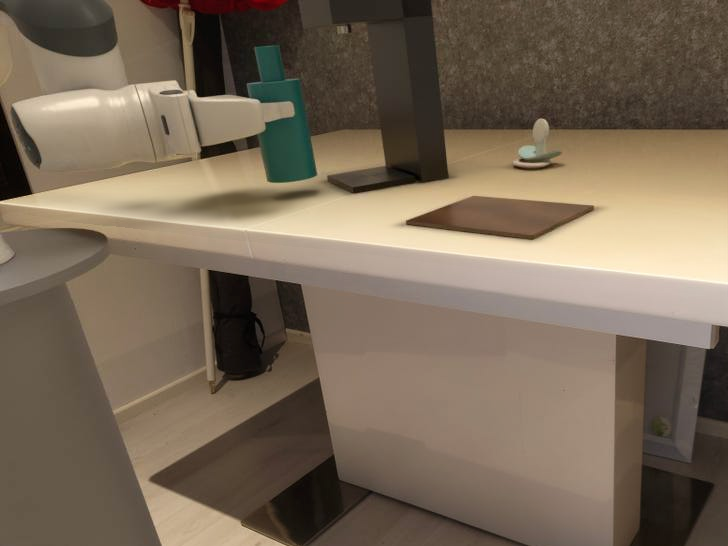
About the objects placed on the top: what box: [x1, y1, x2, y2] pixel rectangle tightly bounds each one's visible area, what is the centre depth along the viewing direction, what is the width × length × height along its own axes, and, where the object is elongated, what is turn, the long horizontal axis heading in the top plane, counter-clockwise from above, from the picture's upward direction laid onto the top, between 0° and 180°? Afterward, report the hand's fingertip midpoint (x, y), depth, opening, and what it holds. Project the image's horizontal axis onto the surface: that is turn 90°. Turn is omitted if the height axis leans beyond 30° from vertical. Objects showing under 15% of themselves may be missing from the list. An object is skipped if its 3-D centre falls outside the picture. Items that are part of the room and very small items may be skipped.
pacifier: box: [512, 117, 563, 169], centre depth 95 cm, size 7×6×6 cm
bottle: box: [246, 44, 318, 184], centre depth 87 cm, size 7×7×16 cm
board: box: [405, 195, 595, 240], centre depth 72 cm, size 12×16×1 cm
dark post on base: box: [297, 0, 449, 194], centre depth 91 cm, size 14×14×26 cm
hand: (285, 107), depth 87 cm, fingers closed on bottle, 6 cm apart
